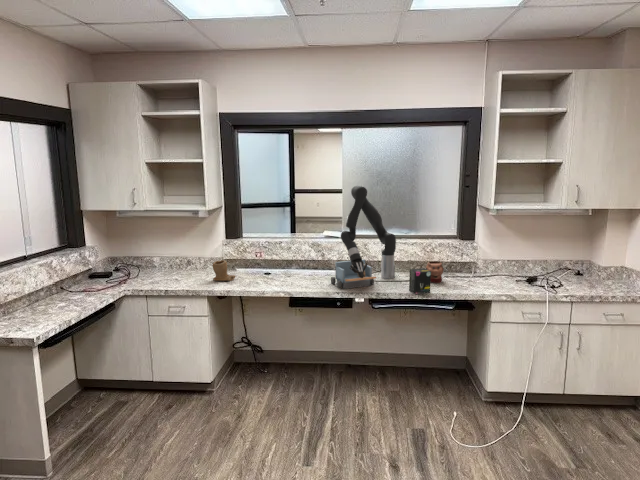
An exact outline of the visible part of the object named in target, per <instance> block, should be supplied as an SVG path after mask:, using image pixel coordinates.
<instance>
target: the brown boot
mask: <svg viewBox="0 0 640 480" xmlns="http://www.w3.org/2000/svg"><path fill="white" fill-rule="evenodd" d="M211 266H212V269H213V272H214V274H215V277H213V278H212V280H213V281H218V282H219V281H220V282H221V281H222V282H225V281H226V282H227V281H230V282H232V281H234V280H235V279H236V275H235V274H234V275H230V274H228V263H227V261H226V260H225V259H220V260H216V261H214V262H213V263H212V265H211Z"/></svg>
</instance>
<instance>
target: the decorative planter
mask: <svg viewBox="0 0 640 480" xmlns="http://www.w3.org/2000/svg"><path fill="white" fill-rule="evenodd" d="M425 269H427V270H429V271H431V283H435V284H436V283H437V284H440V283H442V282H443V279H442V278H443V277H442V275H443V273H444V266H443V263H442V262H441V261H432V260H431V261H428V262H427V264H426V266H425Z"/></svg>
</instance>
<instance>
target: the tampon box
mask: <svg viewBox="0 0 640 480" xmlns="http://www.w3.org/2000/svg"><path fill="white" fill-rule="evenodd" d="M408 280H409V281H408V282H409V283H408V284H409V286H408V287H409V288H408V289H409V291H410V292H411V293H413V294H415V295H422V294H430V293H431V285H432V282H431V271H429V270H427V269H426V268H423V267H422V268H410V269H409V279H408Z"/></svg>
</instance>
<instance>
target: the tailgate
mask: <svg viewBox="0 0 640 480" xmlns="http://www.w3.org/2000/svg"><path fill="white" fill-rule="evenodd" d="M367 279H374V280H375V279H377V276H372V277H364V278H354V279H345V281H358V280H360V281H365V280H367Z"/></svg>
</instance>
